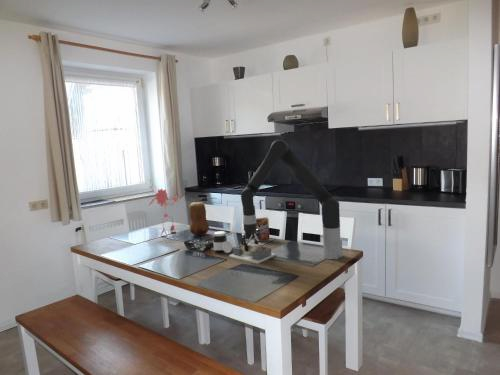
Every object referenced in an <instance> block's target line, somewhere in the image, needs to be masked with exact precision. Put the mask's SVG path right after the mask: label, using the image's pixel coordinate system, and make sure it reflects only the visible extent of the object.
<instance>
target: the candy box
mask: <svg viewBox="0 0 500 375" xmlns="http://www.w3.org/2000/svg"><path fill="white" fill-rule="evenodd" d="M269 219H270V218H269V217H268V216H265V217H256V224H257V229H258V230H260V237H261V239H259V241H258V242H264V241H266V242H267V241H270V222H269Z"/></svg>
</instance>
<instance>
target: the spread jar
mask: <svg viewBox="0 0 500 375" xmlns="http://www.w3.org/2000/svg"><path fill="white" fill-rule="evenodd" d="M213 234H214V235H213V236H214V237H213V242H212V244H213V249H214V250H213V251H214V252H215V253H226V254H229V253H231V252H232V251H233V248H232V247H233V246H232V244H231V242H229V241H228V237H227V235H226V231H223V230H222V231H220V230H219V231H215V232H214V233H213Z"/></svg>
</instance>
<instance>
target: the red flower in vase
mask: <svg viewBox="0 0 500 375" xmlns="http://www.w3.org/2000/svg"><path fill="white" fill-rule="evenodd" d="M178 199H179V196H178V195H177V194H176V195H175V196H173V202H172V203H167V201H169V198H168V193H167V189H163V188H160V189H158V190H157V192H156V193H155V197H153V199H152V200H151V201H150V202H149V204H148V205H149V206H150V205H151V204H153V202H155V200H156V201H157V204H159V206H160V207H163V206H164V208H166V207H167V205H170V206H174V203H175V202H177V201H178ZM167 217H169V218H171V223H172V224H171V226H170V228H169V229H170V232H173V231H174V233H175V232H176V229H175V225H174V223H173V222H174V221H173V219H174V218H173V216H170V215H168V214H167V213H164V214H163V217H162V221H164V219H165V218H167ZM181 231H182V230H180V232H181ZM163 233H165V236H168V234H167V232H166V229H165V226H164V223H162V231H161V232H160V236H162V235H163ZM176 233H177V232H176Z"/></svg>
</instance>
